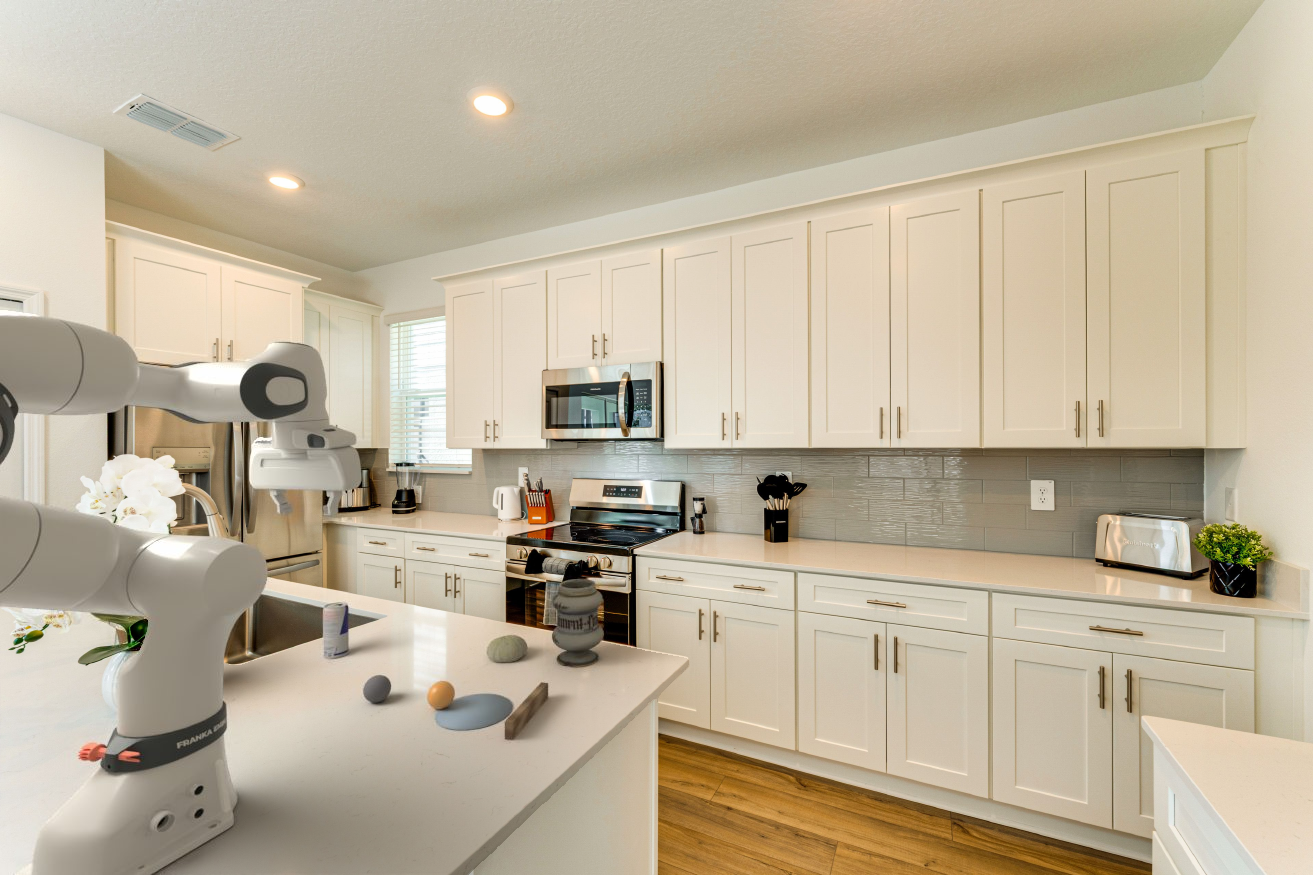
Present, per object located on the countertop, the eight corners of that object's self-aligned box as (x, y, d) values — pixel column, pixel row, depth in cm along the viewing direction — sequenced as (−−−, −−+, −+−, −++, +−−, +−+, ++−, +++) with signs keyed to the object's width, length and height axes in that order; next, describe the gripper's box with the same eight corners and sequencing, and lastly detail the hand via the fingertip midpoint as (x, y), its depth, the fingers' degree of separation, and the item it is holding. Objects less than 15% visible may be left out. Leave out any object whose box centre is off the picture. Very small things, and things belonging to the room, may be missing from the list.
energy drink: (353, 651, 138) (353, 602, 138) (338, 659, 133) (338, 608, 133) (332, 650, 138) (332, 601, 138) (317, 658, 133) (317, 608, 133)
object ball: (445, 715, 106) (445, 688, 106) (421, 712, 107) (421, 686, 107) (459, 702, 111) (459, 677, 111) (436, 700, 112) (436, 675, 112)
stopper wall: (512, 739, 97) (512, 722, 97) (504, 738, 98) (504, 721, 98) (548, 697, 113) (548, 682, 113) (541, 696, 113) (541, 682, 113)
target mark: (490, 733, 99) (490, 732, 99) (419, 725, 102) (419, 724, 102) (524, 697, 113) (524, 696, 113) (460, 691, 116) (460, 690, 116)
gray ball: (379, 708, 109) (379, 682, 109) (357, 705, 110) (357, 680, 110) (396, 696, 114) (396, 671, 114) (374, 694, 115) (374, 669, 115)
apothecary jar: (543, 666, 129) (543, 587, 128) (564, 647, 140) (564, 575, 140) (593, 671, 126) (593, 591, 126) (610, 651, 137) (610, 578, 137)
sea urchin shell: (480, 646, 136) (504, 619, 138) (503, 665, 138) (526, 639, 141) (485, 659, 128) (511, 631, 130) (510, 680, 130) (535, 651, 133)
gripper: (235, 438, 98) (242, 516, 99) (337, 438, 94) (344, 520, 95) (266, 435, 104) (273, 508, 105) (364, 434, 100) (370, 511, 101)
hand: (307, 514), depth 100 cm, fingers open, 8 cm apart
